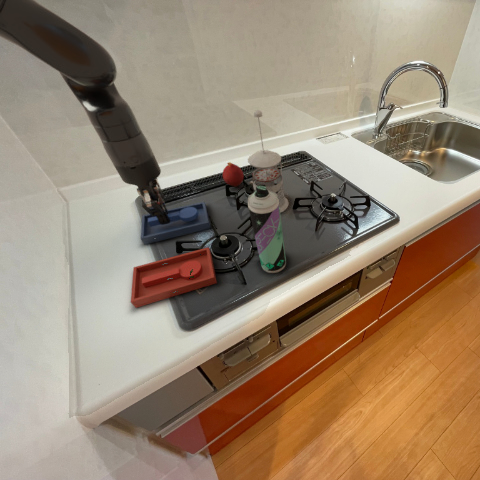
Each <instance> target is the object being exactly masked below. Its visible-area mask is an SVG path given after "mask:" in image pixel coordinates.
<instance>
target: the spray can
mask: <svg viewBox="0 0 480 480" xmlns="http://www.w3.org/2000/svg"><path fill="white" fill-rule="evenodd" d="M254 191H255V190H254ZM254 191H253V192H252V193H251V194H250V195H249V196H248V197H247V207H248V211H249V216H250V221H251V226H252V229H253V230H252V231H253V235H254V237H255V238H254V239H255V243H256V247H257V248H256V249H257V252H258V253H257V254H258V256H259V261H260V266H261V268H262V270H263V271H264V272H266V273H268V274H276V273H279V272H281V271H282V270H284V269H285V268H286V265H287V258H286V250H285V243H284V233H283V225H282V224H283V223H282V216H281V213H280V207H279V200H278V197H277V195H276V194H275V193H274V192H272V191H268V190H267V189H266V185H258V186H257V187H256V191H255V192H254Z"/></svg>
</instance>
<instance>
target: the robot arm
mask: <svg viewBox="0 0 480 480" xmlns="http://www.w3.org/2000/svg"><path fill="white" fill-rule="evenodd" d="M0 38H1V39H3V40H5V41H7V42H9V43H11V44H13V45H15V46H17V47H19V48H21V49H22V50H24V51H26V52H27V53H28V54H30V55H32V56H33V57H35V58H37V59H38V60H40V61H41V62H43V63H44V64H46V65H47V66H49V67H51V68H52V69H54V70H56V71H57V72H58V73H59V75H60V76H61V78H62V79H63V80H64V82H65V84H66V85H67V86H68V88H69V89H70V91H71V92H72V94H73V95H74V97H75V98H76V100H77V101H78V102H79V104H80V105H81V107H82V108H83V110H84V112H85V113H86V116H87V118H88V120H89V122H90V124H91V125H92V127H93V130H94V131H95V132H96V134H97V136H98V137H99V140H100V142H101V144H102V146H103V149H104V151H105V153H106V154H107V156H108V158H109V159H110V161H111V164H112V165H113V166H114V168H115V170H116V171H117V174H118V175H119V177H120V179H121V181H122V182H123V183H125V184H127V185H132V186H136V187H137V188H136V192H137V194H138V196H139V197H141V199H142V201H143V202H142V203H141V207H142V208H143V210H145V211H146V212H147V214H150V215H151V216H152V217H153V216H156V217H157V219H158V221H159V222H160V224H161V225H164V224H169V223H170V219H169V217H168V215H167V214H169V213H168V210H169V209H168V208H167V206H166V202H165V200H164V197H165V196H164V194H163V191H162V188H161V185H160V182H159V179H158V178H159V176H160V175H161V172H162V170H161V167H160V164H159V163H158V161H157V158H156V156H155V154H154V152H153V149H152V147H151V145H150V143H149V141H148V139H147V138H146V136H145V134H144V133H143V131H142V129H141V127H140V124H139V122H138V119H137V118H136V116H135V113H134V112H133V109H132V108H131V106H130V105H129V103H128V102H127V101H126V100H125V99H124V98H123V97H122V95H121V94H120V92H119V91H118V89H117V86H116V85H115V81H116V79H117V75H118V71H117V70H118V69H117V65H116V62H115V60H114V58H113V56H112V55H111V54H110V52H109V51H108V50H107V49H106V48H105V47H104V46H103V45H102V44H101V43H99V42H98V41H97V40H95V39H94V38H93V37H91V36H90V35H88V33H86V32H84V31H82V30H81V29H79V28H78V27H76V26H75V25H74V24H72V23H70V22H68V21H67V20H66V19H65V18H62V17H61V16H59V14H56V13H55V12H53V11H51V10H50V9H48V8H47V7H45V6H43V5H42V4H41V3H39V2H38V1H37V0H0Z"/></svg>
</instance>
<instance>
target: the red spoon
mask: <svg viewBox="0 0 480 480" xmlns="http://www.w3.org/2000/svg"><path fill="white" fill-rule="evenodd" d="M192 269H193V272H192V273H191V275H190V271H191V270H192ZM201 273H202V266H201V264H200V263H199V262H198V261H188V262H186V263H184V264H183V265H182V266H181V267H180V268H176V269H172V270H169V271H165V272H162V273H158V274H155V275H151V276H148V277H144V278H142V284H143V286H144V287H145V288H147V287H151V286H154V285H157V284H161V283H164V282H168V281H171V280H174V279H178V278H181V277H182V278H183V279H185V280H192V279H195V278H197V277H198V276H199V275H200V274H201ZM190 276H194V278H190ZM168 278H173V279H169V280H167V279H168ZM189 278H190V279H189Z"/></svg>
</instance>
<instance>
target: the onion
mask: <svg viewBox="0 0 480 480" xmlns="http://www.w3.org/2000/svg"><path fill="white" fill-rule="evenodd" d="M226 164H227V165H226V166H225V167H224V168H223V170H222V179H223V181H224V183H226V184H227V185H229V186H231V187H234V188H236V187H239V186H240V185H241V184H242V183H243V181H244V178H245V177H244V176H245V175H244V171H243V169H241V167H240V166H239V165H237V164H235V163H233V162H231V161H228V162H227V163H226Z"/></svg>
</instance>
